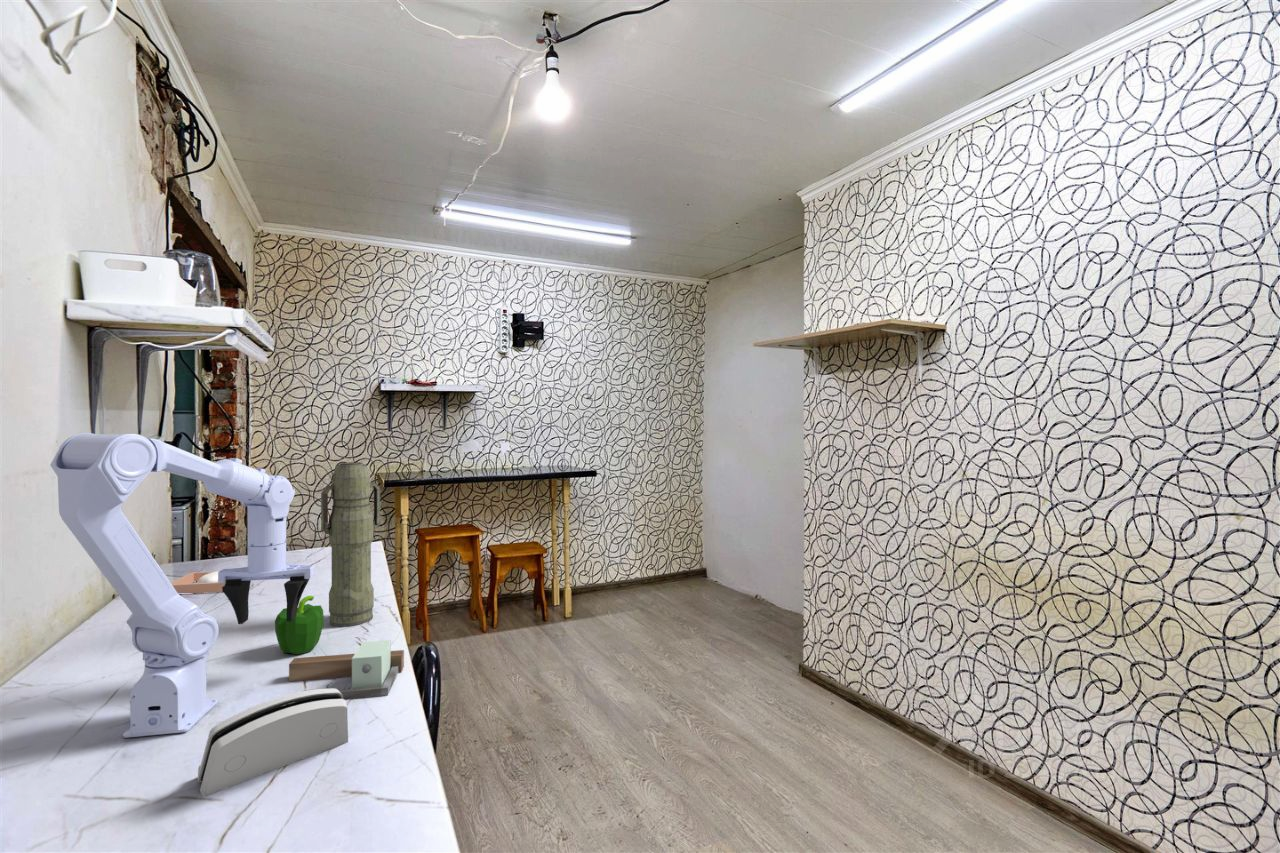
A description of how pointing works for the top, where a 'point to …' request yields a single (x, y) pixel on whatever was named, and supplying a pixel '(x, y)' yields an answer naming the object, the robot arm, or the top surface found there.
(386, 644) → the cabinet block
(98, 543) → the robot arm
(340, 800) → the top surface
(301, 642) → the bell pepper
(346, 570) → the thermos
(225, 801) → the top surface
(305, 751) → the grey napkin holder
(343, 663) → the wall board
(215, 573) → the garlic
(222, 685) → the top surface
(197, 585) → the tan flat square tray
